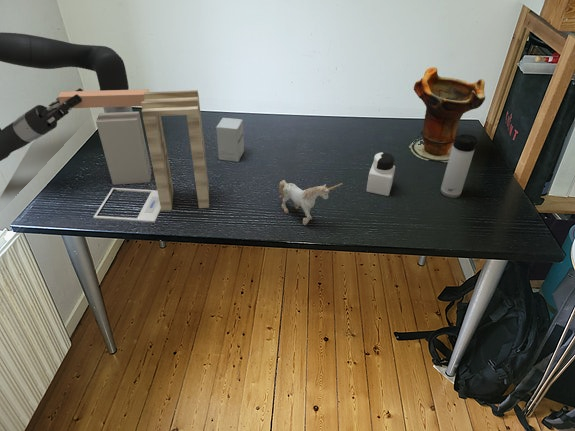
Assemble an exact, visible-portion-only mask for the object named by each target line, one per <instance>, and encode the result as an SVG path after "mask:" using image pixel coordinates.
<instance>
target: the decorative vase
mask: <svg viewBox="0 0 575 431" xmlns="http://www.w3.org/2000/svg"><path fill="white" fill-rule="evenodd" d="M485 84H486V83H485V80H484V79H482V78H480V79H478V80H477V81H475V82H468V81H466V80H464V79H459V78H455V77H454V78H453V77H445V76H440V75H439V74H438V68H437V67H429V68H427V69H426V70H425V71H424V75H423V77H422V78H420V79H419V80H417V81H416V82H414V85H413V92H414V93H415V94H416V95H417V97H418V98H419V99H421V101H422V102H423V103H424V106H425V107H426V108H425V109H426V110H425V115H424V119H423V120H424V121H423V125H422V126H423V127H422V130H421V131H420V133H419V135H421V136H422V138H423V139H422V140H419V141H416V142H414V141H413V142H414V143H413V142H412V143H410V145H408V147H409V148H410V151H411V152H412V153H413V155H415V156H416V157H417V158H420V159H421V160H425V161H429V160H432V161H436V162H443V163H448V161H449V157H450V154H451V150H452V147H453V144H454V140H455V137H456V134H457V128H458V126H459V123H460V122H461V121H460V120H461V119H462V117H463V115H464V114H466V113H467V112H470V111H473V110H476V109H478V108H480V107H481V106H482V105H483V103H484V102H485V100H486V95H485ZM419 135H418V136H417V138H416V139H415V140H418V138H419ZM420 141H423V142H424V145H423V144H421V145H418V144H420Z"/></svg>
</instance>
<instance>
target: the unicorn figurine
mask: <svg viewBox="0 0 575 431" xmlns="http://www.w3.org/2000/svg"><path fill="white" fill-rule="evenodd" d="M342 185H343V182H341V183H339V184H336V185H334V186H331V187H326V186H327V184H326V183H325V184H323V185H320V186H319V185H318V186H313V187H309V188H307V189H304V190H303V189H301V188H300V187H298V186H297V185H296V183H292V182H291V183H290V182H289V183H287V182H286V180H285V179H283V180H281V181H280V182H279V184H278V188H279V193H280V195H279V196H278V199H282V203H281V208H282V210H283V212H284V213H285V214H288V213H290V211H289V209H288V207H287V205H286V202H287V201H288V200H289V199H291V200H292V202H293V204H294V209H295V210H299V209H300V207H301V208H302V210H303V212H304V215H305V217H303V218H302V225H304V226H306V225H307V224H309V222H310V220H311V221H312V220H313V217H312V215H311V214H310V213H311V208H313V207H314V206H315V204H316V199H317V198H318V197H319V196H320V197H321V198H322V199H324V200H327V199H329V194H330V191H332V190H335V189H337V188H338V187H339V186H342Z"/></svg>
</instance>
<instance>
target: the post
mask: <svg viewBox="0 0 575 431" xmlns="http://www.w3.org/2000/svg"><path fill="white" fill-rule="evenodd" d="M95 124H96V127H97V130H98V135H99V138H100V142H101V146H102V149H103V152H104V157H105V162H106V164H107V168H108V172H109V175H110V179H111V183H112V185H124V184H126V185H127V184H143V183H151V177H152V169H151V164H150V159H149V154H148V149H147V144H146V139H145V134H144V129H143V124H142V119H141V113H140V111H133V112H117V113H104V112H102V113H98V115H97V118H96V121H95Z"/></svg>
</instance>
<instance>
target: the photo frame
mask: <svg viewBox="0 0 575 431" xmlns="http://www.w3.org/2000/svg"><path fill="white" fill-rule="evenodd" d="M113 190H116V191H117V192H119V191H120V192H133V193H148V194H149V195H148V197H147V199H146V201H145V203H143V204H144V205H143V206H142V209H141V210H140V212H139V213H138V216H137V217H136V218H135V217H121V216H105V215H98V214H99V213H100V211H101V210H102V208H103V206H104V205H105V204H106V201H108V198H109V197H111V196H110V195H111V194H112V193H113ZM160 212H161V206H160V201H159V196H158V191H157V189H156V190H154V189H140V188H138V189H137V188H136V189H135V188H126V187H125V188H121V187H111V189H110V191H109V193H108V194H107V195H106V196H105V198H104V200H103V201H102V203H101V205H100V206H99V208H98V209H97V211H96V212H95V214H94V215H93V219H97V220H98V219H99V220H110V221H111V220H116V221H125V222H126V221H129V222H146V223H155V222H156V221H157V219H158V217H159V215H160Z"/></svg>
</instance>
